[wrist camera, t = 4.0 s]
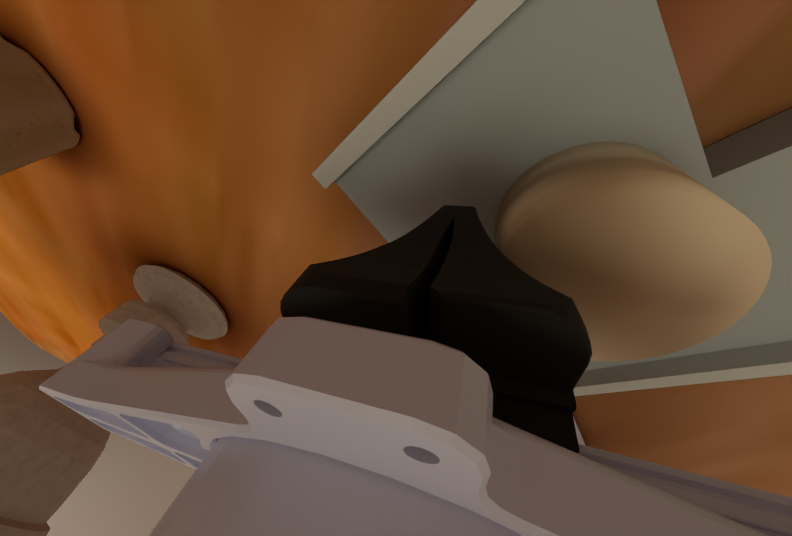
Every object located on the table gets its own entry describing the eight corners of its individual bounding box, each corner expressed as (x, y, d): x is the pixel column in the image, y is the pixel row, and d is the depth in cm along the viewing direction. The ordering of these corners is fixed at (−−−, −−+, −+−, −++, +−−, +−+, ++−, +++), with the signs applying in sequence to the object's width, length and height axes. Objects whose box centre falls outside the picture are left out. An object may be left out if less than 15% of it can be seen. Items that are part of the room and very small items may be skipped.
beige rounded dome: (533, 300, 13) (542, 373, 10) (467, 201, 11) (456, 257, 8) (703, 250, 10) (789, 338, 7) (653, 97, 8) (745, 129, 5)
